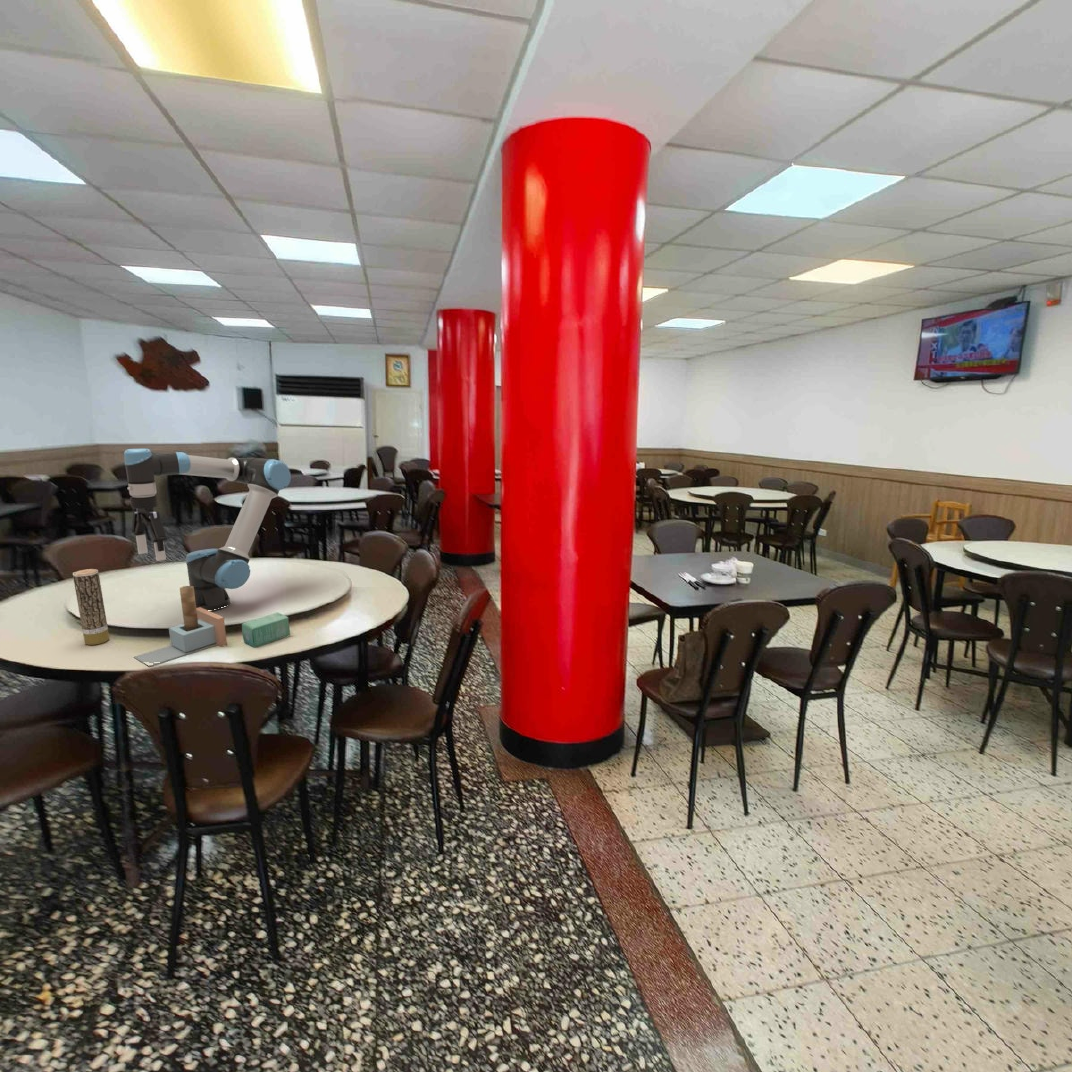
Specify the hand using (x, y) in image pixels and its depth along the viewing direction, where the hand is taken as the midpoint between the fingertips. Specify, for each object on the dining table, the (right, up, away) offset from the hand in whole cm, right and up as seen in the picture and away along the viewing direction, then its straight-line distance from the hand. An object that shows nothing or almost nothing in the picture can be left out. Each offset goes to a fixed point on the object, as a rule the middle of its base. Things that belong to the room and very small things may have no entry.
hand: (152, 556), depth 199 cm
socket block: (+15, -30, -2) cm, 34 cm away
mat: (+13, -31, -5) cm, 34 cm away
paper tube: (-19, -29, 0) cm, 35 cm away
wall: (+19, -29, +3) cm, 35 cm away
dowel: (+15, -27, -2) cm, 32 cm away
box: (+37, -29, +5) cm, 48 cm away
